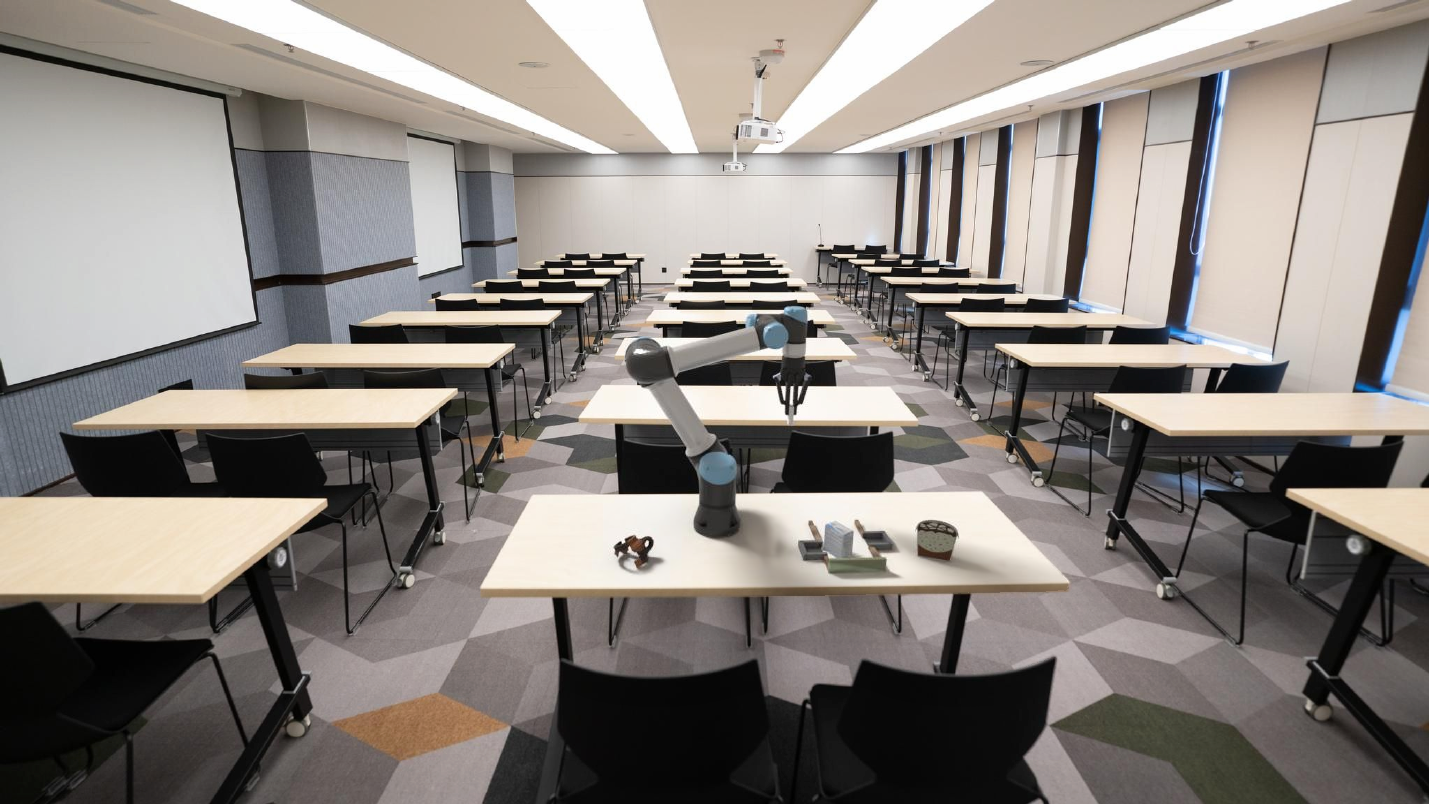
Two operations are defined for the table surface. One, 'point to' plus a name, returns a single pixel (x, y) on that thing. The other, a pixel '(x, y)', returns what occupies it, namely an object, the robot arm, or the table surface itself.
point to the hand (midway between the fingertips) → (790, 424)
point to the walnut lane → (852, 564)
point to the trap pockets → (814, 552)
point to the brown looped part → (635, 548)
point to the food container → (936, 539)
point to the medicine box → (838, 540)
